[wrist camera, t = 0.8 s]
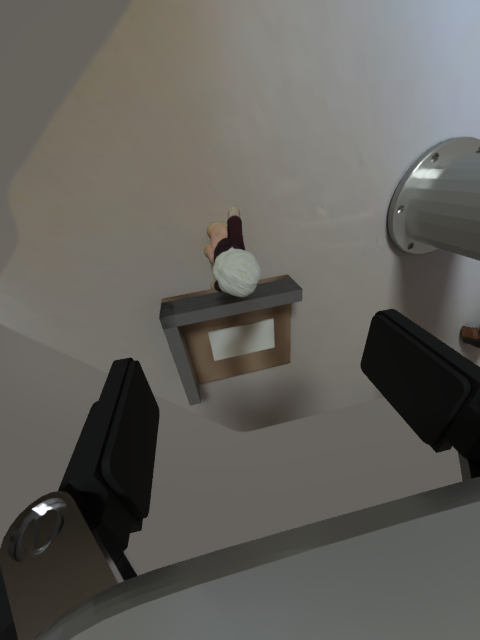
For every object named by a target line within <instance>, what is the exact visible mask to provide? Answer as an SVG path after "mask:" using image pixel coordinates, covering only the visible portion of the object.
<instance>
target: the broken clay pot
mask: <svg viewBox="0 0 480 640" xmlns="http://www.w3.org/2000/svg"><path fill="white" fill-rule="evenodd" d="M461 331H462V333H461V334H462V339H463V342H464V343H467V344H470V345H473V346H476V347H477V348H480V338H479V336H478V329H477V328H470V327H466V326H463V327H462V330H461Z"/></svg>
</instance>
